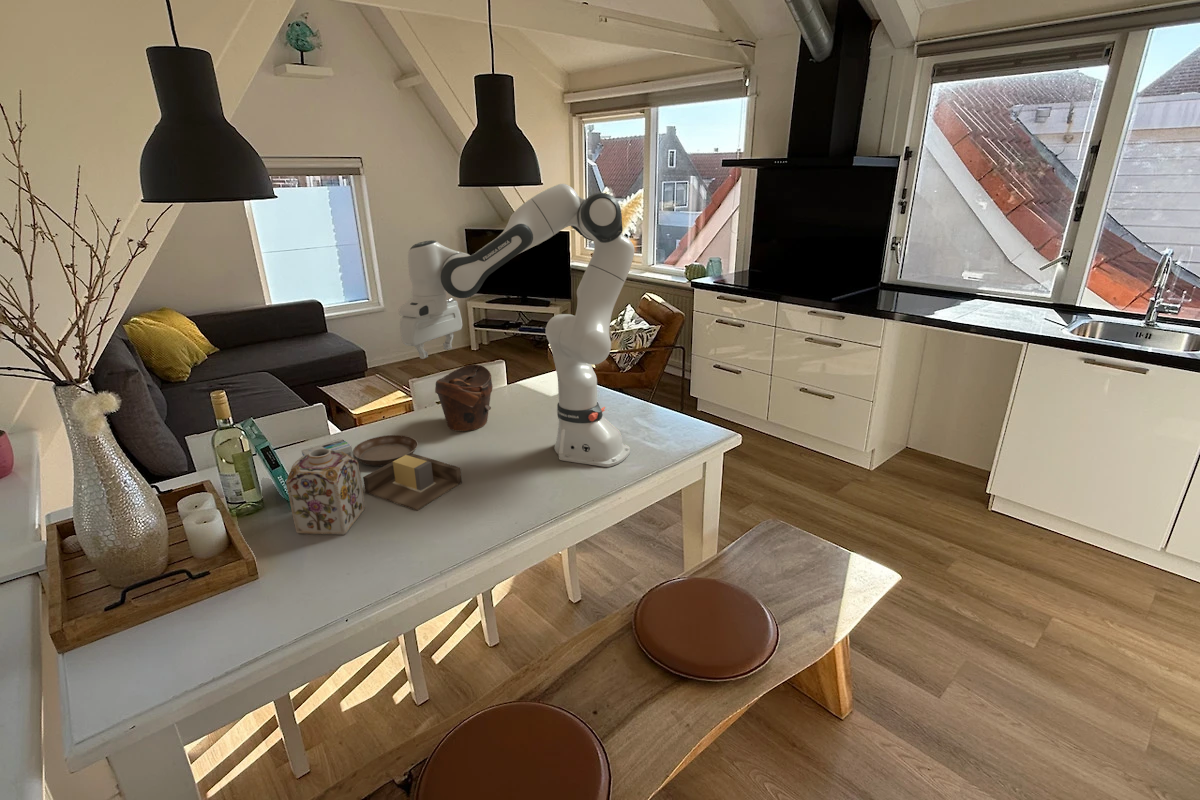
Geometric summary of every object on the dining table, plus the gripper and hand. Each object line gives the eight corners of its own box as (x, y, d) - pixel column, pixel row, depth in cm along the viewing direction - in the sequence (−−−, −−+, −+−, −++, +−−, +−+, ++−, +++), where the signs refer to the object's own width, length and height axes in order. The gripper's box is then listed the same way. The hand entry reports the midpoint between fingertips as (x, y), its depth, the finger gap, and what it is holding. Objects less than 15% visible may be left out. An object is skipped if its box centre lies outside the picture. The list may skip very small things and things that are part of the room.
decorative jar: (294, 534, 136) (279, 463, 129) (319, 507, 147) (307, 440, 140) (346, 536, 135) (333, 464, 129) (367, 508, 146) (357, 441, 140)
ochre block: (408, 475, 161) (405, 454, 158) (433, 483, 156) (431, 462, 154) (395, 482, 157) (392, 461, 155) (420, 490, 153) (418, 469, 151)
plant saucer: (386, 439, 185) (385, 430, 183) (431, 450, 177) (430, 440, 176) (340, 462, 170) (338, 452, 169) (387, 475, 162) (386, 465, 161)
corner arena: (461, 482, 158) (460, 467, 156) (417, 510, 145) (415, 494, 143) (412, 467, 166) (410, 452, 165) (365, 492, 153) (362, 477, 152)
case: (437, 439, 184) (433, 383, 177) (438, 415, 202) (434, 364, 196) (496, 434, 188) (494, 380, 181) (492, 411, 206) (489, 361, 200)
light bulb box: (348, 473, 163) (341, 437, 159) (358, 481, 159) (352, 444, 155) (307, 486, 156) (300, 449, 152) (317, 496, 152) (310, 457, 148)
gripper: (447, 295, 170) (452, 342, 175) (393, 310, 153) (400, 361, 158) (465, 297, 167) (469, 345, 172) (411, 312, 151) (418, 365, 156)
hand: (436, 353), depth 165 cm, fingers open, 8 cm apart
